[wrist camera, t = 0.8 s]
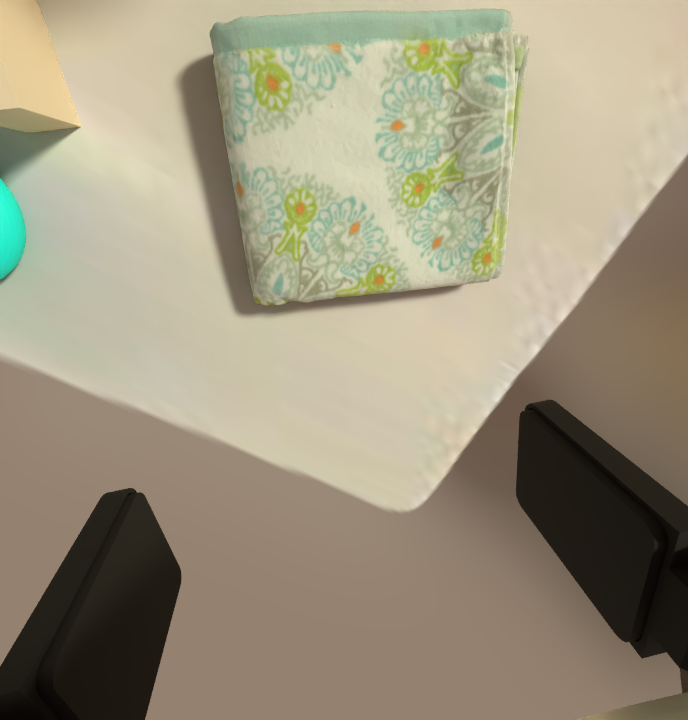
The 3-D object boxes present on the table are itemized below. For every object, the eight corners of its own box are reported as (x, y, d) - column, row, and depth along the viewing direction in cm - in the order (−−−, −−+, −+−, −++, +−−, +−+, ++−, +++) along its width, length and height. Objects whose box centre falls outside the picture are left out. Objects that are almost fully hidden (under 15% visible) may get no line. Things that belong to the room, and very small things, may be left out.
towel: (486, 275, 36) (515, 288, 31) (255, 298, 34) (250, 315, 29) (506, 30, 29) (549, -2, 24) (213, 39, 27) (197, 7, 22)
